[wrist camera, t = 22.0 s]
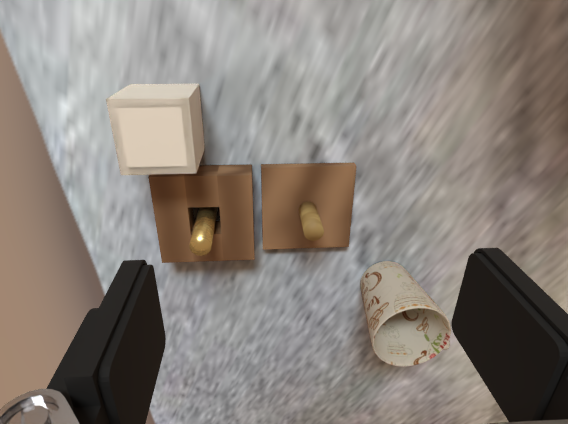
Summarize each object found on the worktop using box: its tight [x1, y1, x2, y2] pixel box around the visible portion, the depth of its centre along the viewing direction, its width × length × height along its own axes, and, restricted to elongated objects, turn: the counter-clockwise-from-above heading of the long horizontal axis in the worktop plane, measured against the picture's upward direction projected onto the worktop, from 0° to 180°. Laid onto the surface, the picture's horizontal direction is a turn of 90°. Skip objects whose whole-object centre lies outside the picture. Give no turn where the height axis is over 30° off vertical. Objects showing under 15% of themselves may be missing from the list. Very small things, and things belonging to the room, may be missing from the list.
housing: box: [106, 84, 205, 175], centre depth 36 cm, size 6×6×7 cm
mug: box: [360, 261, 451, 366], centre depth 46 cm, size 8×13×10 cm, turn 58°
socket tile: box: [149, 165, 254, 263], centre depth 42 cm, size 10×10×3 cm
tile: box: [261, 163, 356, 249], centre depth 42 cm, size 10×10×6 cm
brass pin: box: [189, 207, 218, 256], centre depth 40 cm, size 2×2×8 cm
